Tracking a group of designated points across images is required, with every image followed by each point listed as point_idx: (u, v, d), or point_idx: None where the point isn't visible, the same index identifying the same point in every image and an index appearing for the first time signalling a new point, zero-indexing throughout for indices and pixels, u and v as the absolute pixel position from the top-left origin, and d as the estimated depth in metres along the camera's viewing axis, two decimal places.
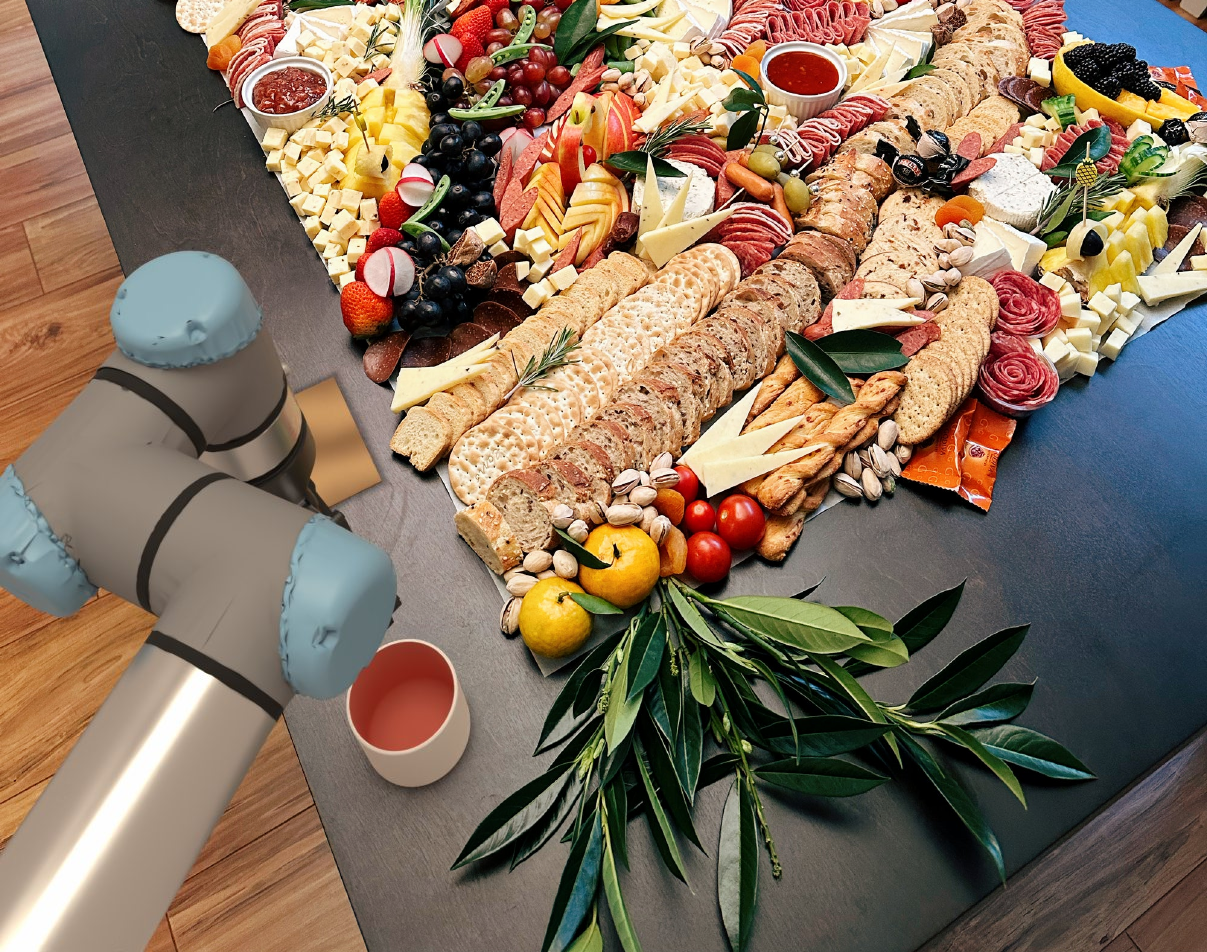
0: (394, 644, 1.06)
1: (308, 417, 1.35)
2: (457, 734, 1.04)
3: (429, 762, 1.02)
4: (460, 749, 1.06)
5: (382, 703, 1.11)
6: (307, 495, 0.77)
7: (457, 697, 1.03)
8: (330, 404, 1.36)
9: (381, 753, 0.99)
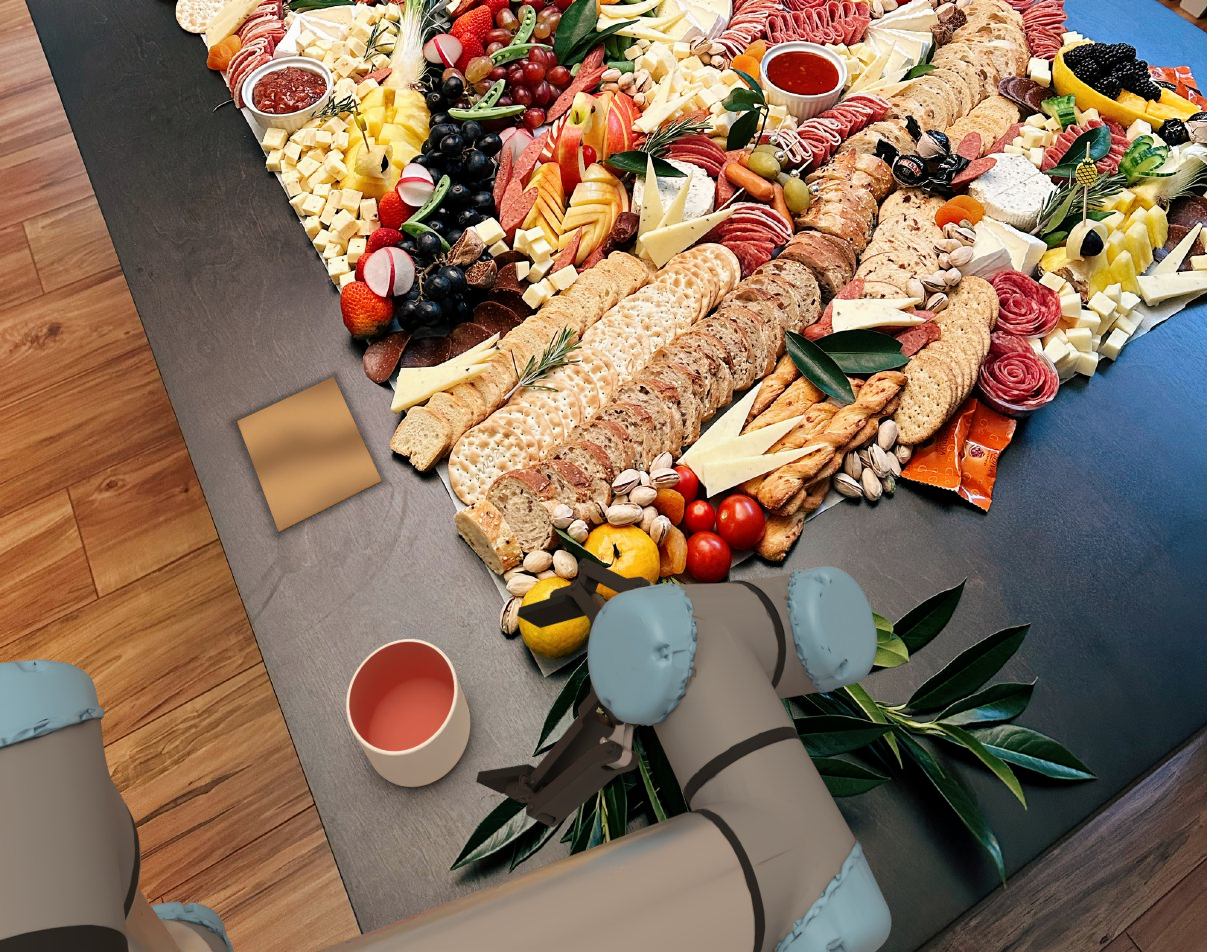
0: (394, 644, 1.06)
1: (308, 417, 1.35)
2: (457, 734, 1.04)
3: (429, 762, 1.02)
4: (460, 749, 1.06)
5: (382, 703, 1.11)
6: None
7: (457, 697, 1.03)
8: (330, 404, 1.36)
9: (381, 753, 0.99)
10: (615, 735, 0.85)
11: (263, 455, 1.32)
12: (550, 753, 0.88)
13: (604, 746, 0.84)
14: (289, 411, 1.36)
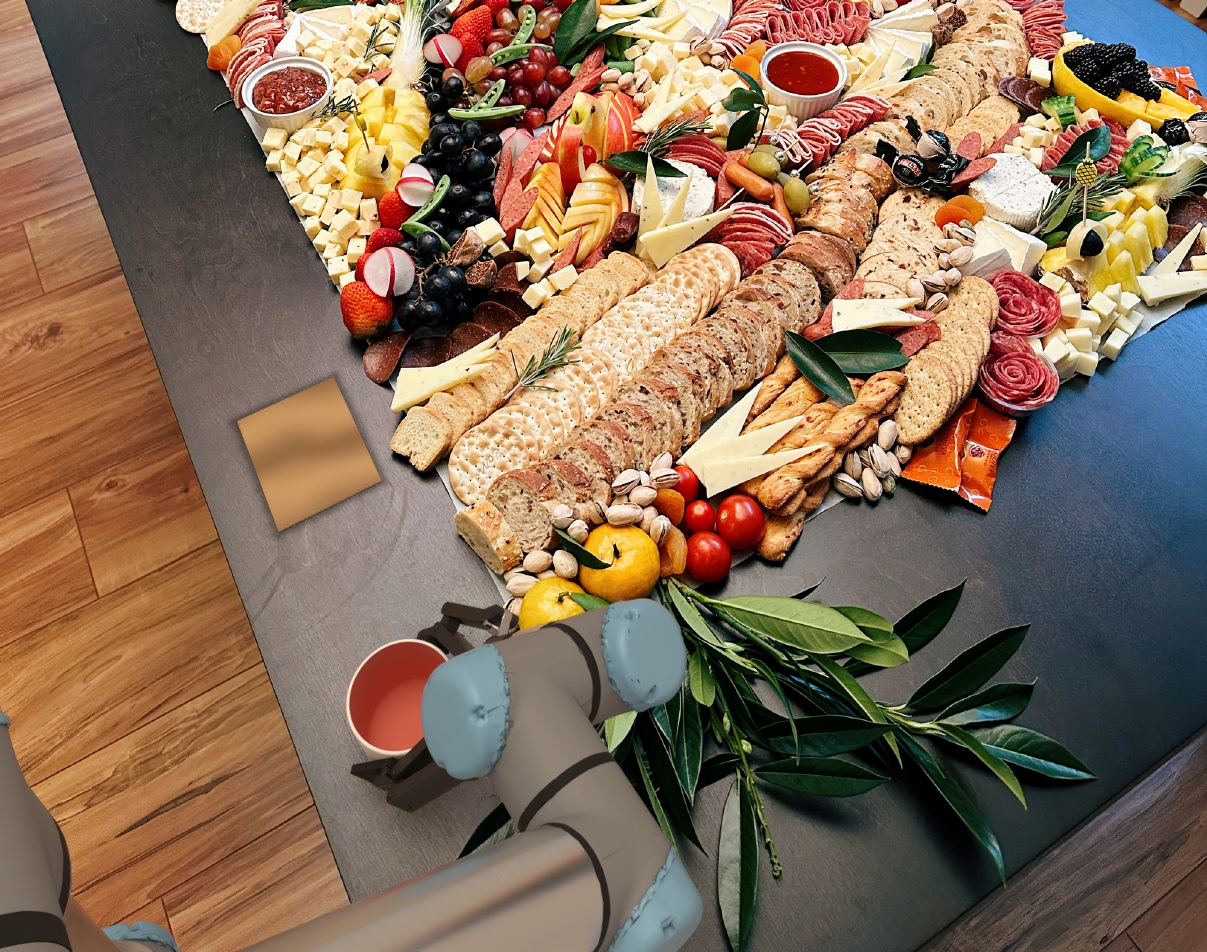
0: (394, 644, 1.06)
1: (308, 417, 1.35)
2: None
3: None
4: None
5: (382, 703, 1.11)
6: None
7: None
8: (330, 404, 1.36)
9: (381, 753, 0.99)
10: None
11: (263, 455, 1.32)
12: (411, 751, 0.98)
13: None
14: (289, 411, 1.36)
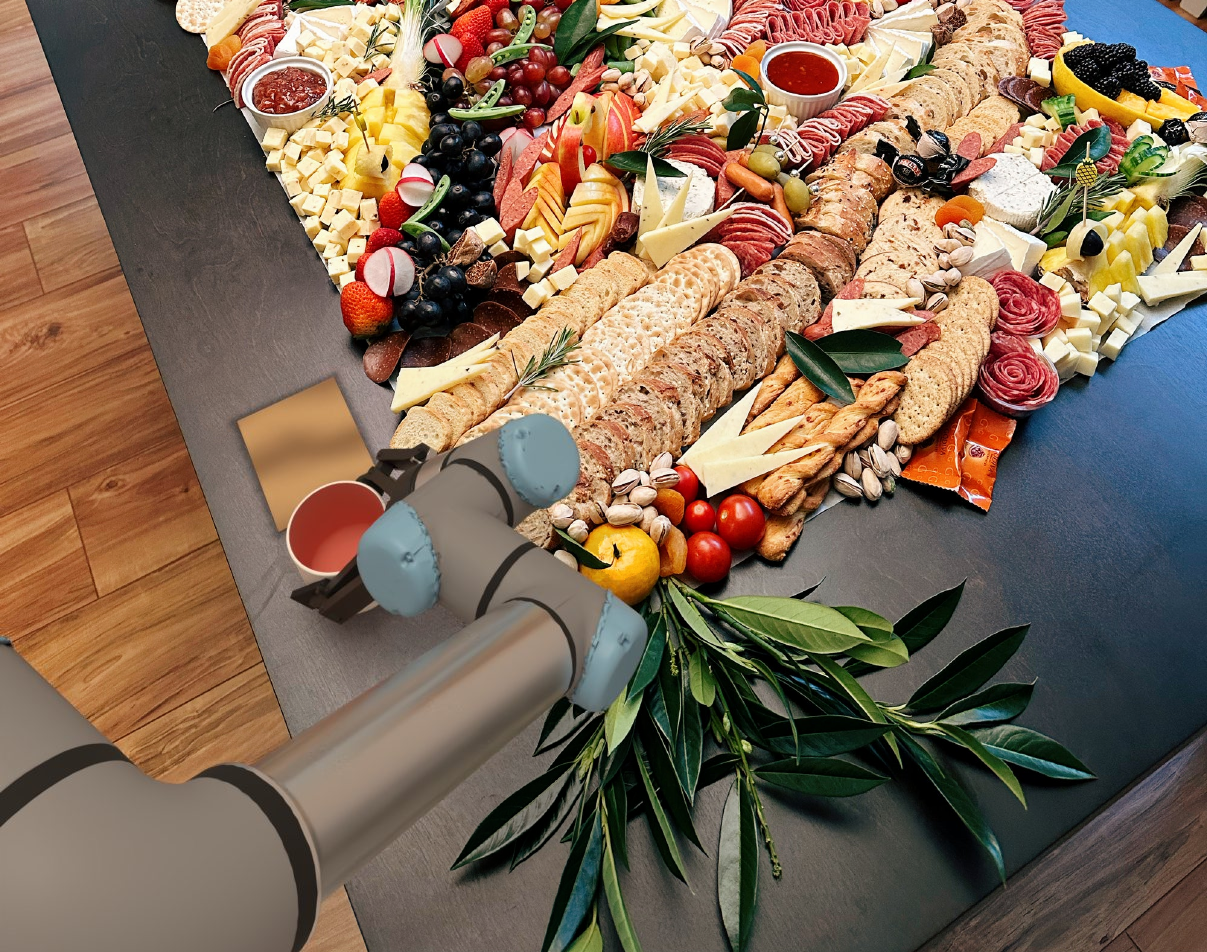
0: (332, 485, 1.16)
1: (308, 417, 1.35)
2: None
3: None
4: None
5: (324, 546, 1.21)
6: None
7: None
8: (330, 404, 1.36)
9: (316, 574, 1.10)
10: None
11: (263, 455, 1.32)
12: (342, 570, 1.08)
13: None
14: (289, 411, 1.36)
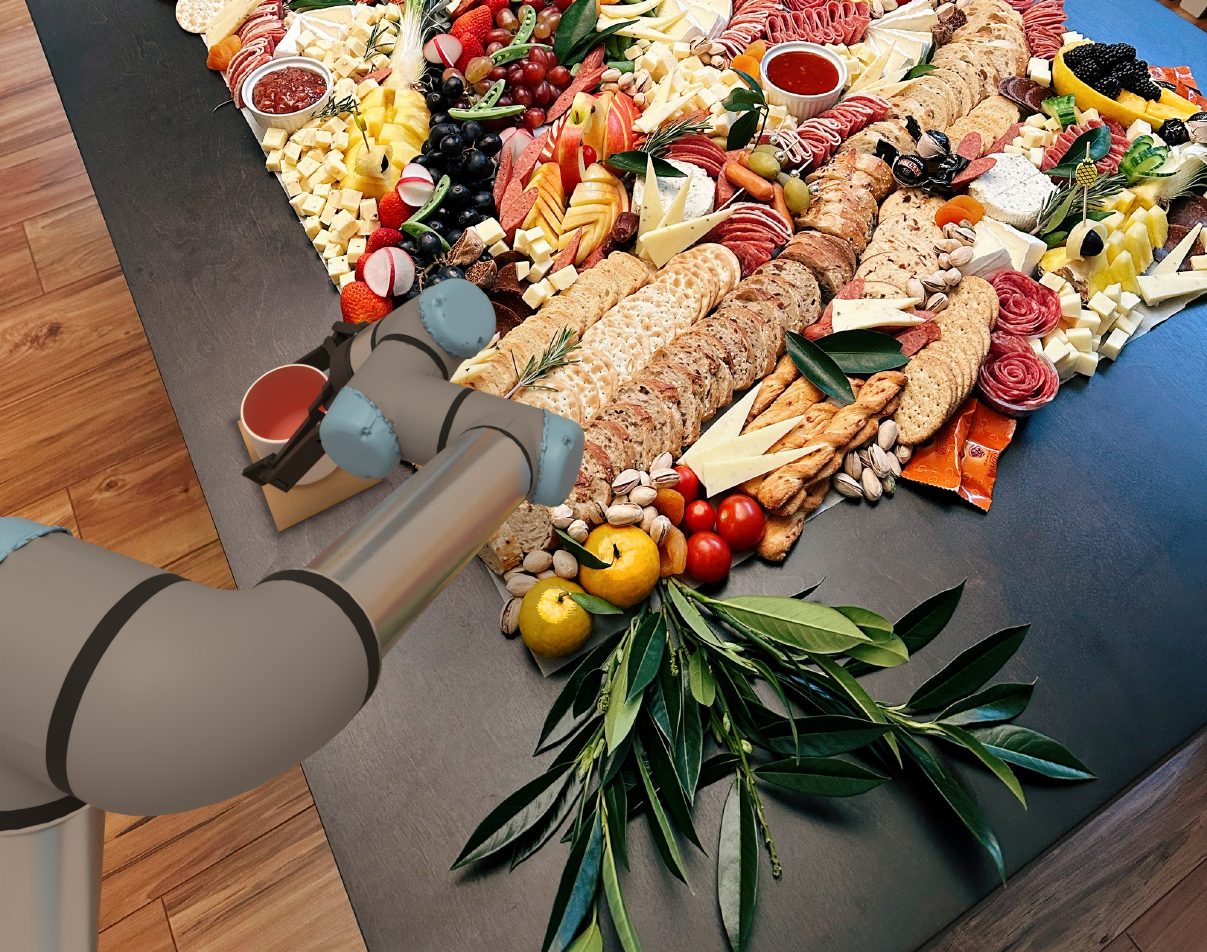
0: (283, 368, 1.28)
1: None
2: None
3: None
4: None
5: (277, 428, 1.33)
6: None
7: None
8: None
9: (266, 441, 1.22)
10: None
11: None
12: (288, 442, 1.19)
13: (318, 426, 1.15)
14: None
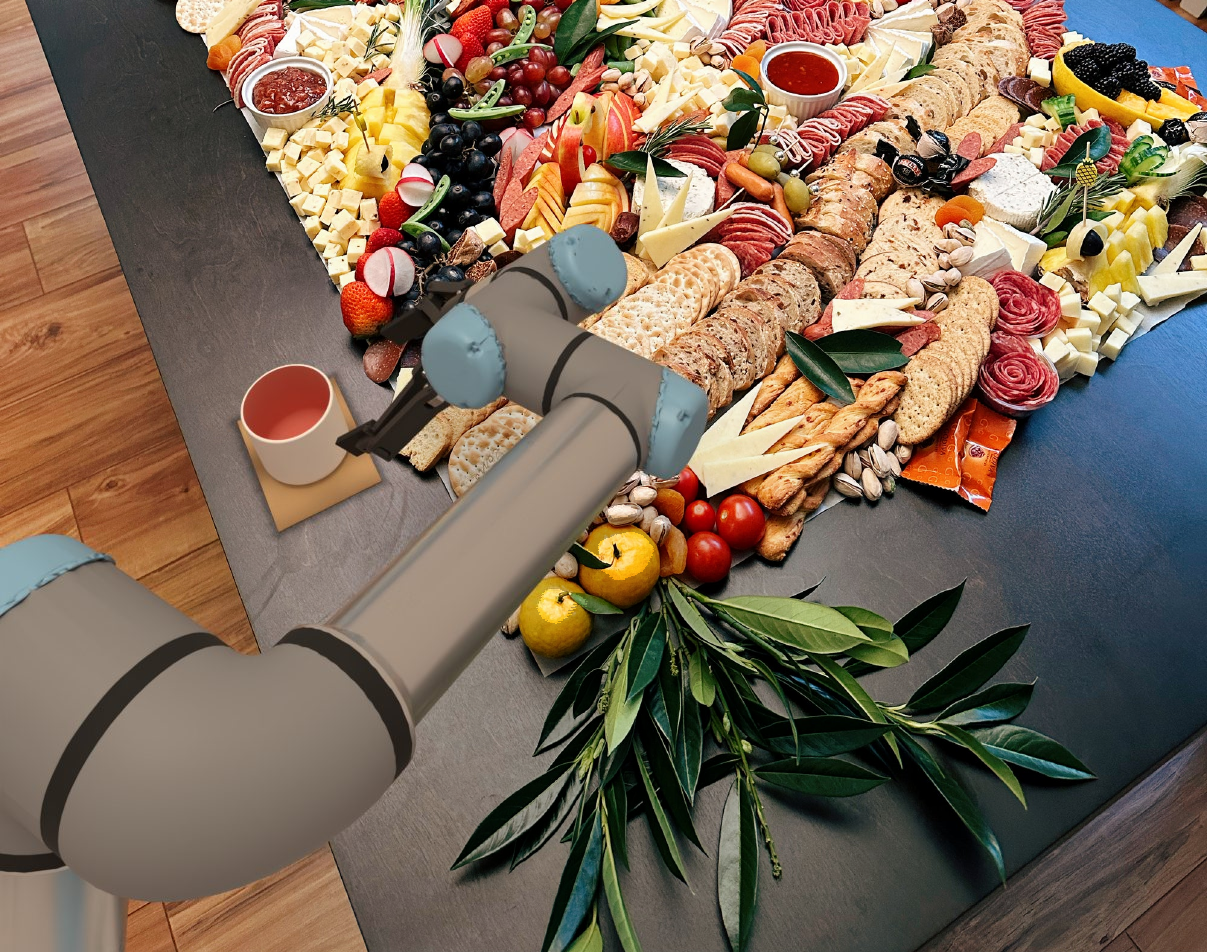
0: (283, 368, 1.28)
1: None
2: (334, 438, 1.26)
3: (308, 457, 1.25)
4: (338, 455, 1.28)
5: (277, 428, 1.33)
6: None
7: (332, 403, 1.25)
8: None
9: (266, 441, 1.22)
10: None
11: None
12: (389, 407, 1.10)
13: (426, 388, 1.06)
14: None
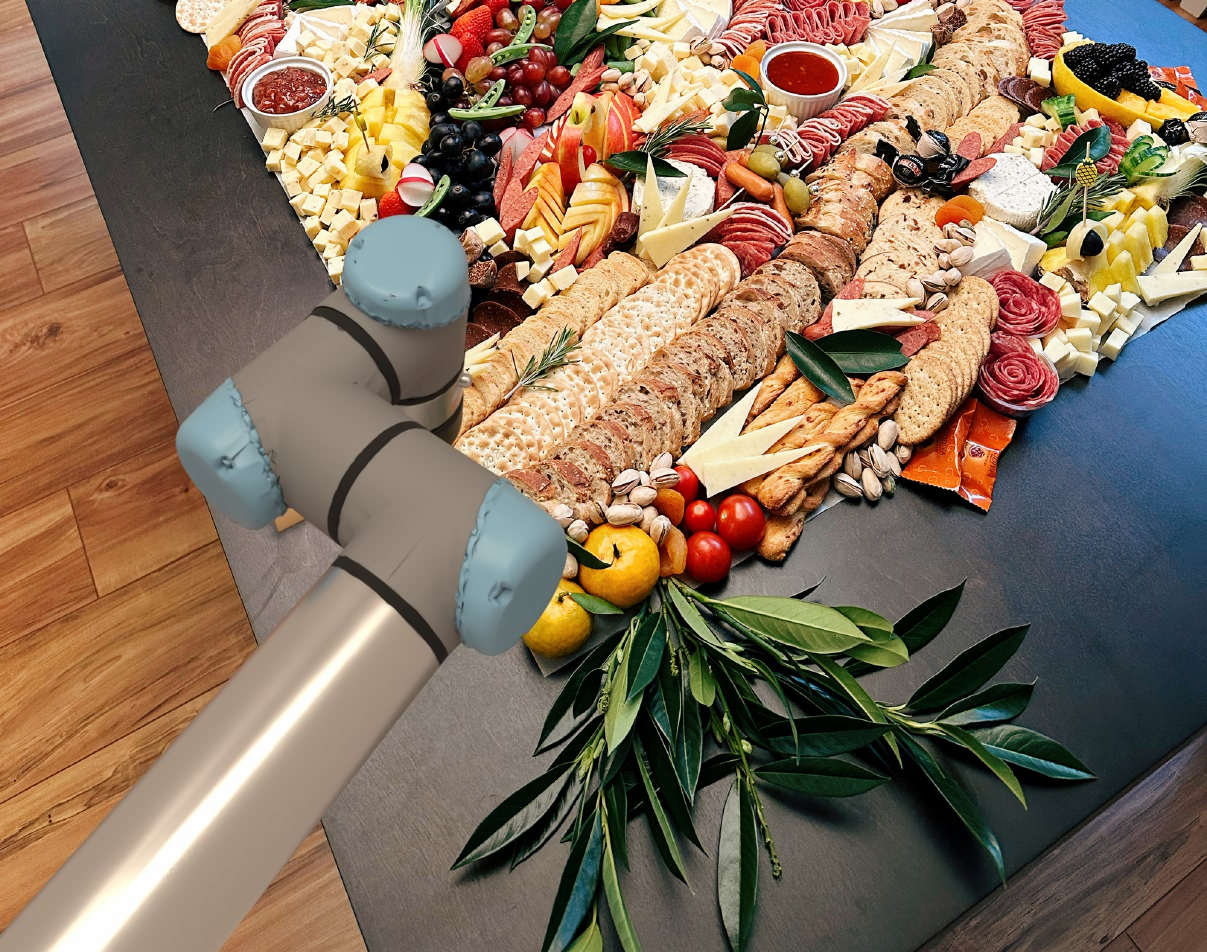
0: None
1: None
2: None
3: None
4: None
5: None
6: None
7: None
8: None
9: None
10: None
11: None
12: None
13: None
14: None
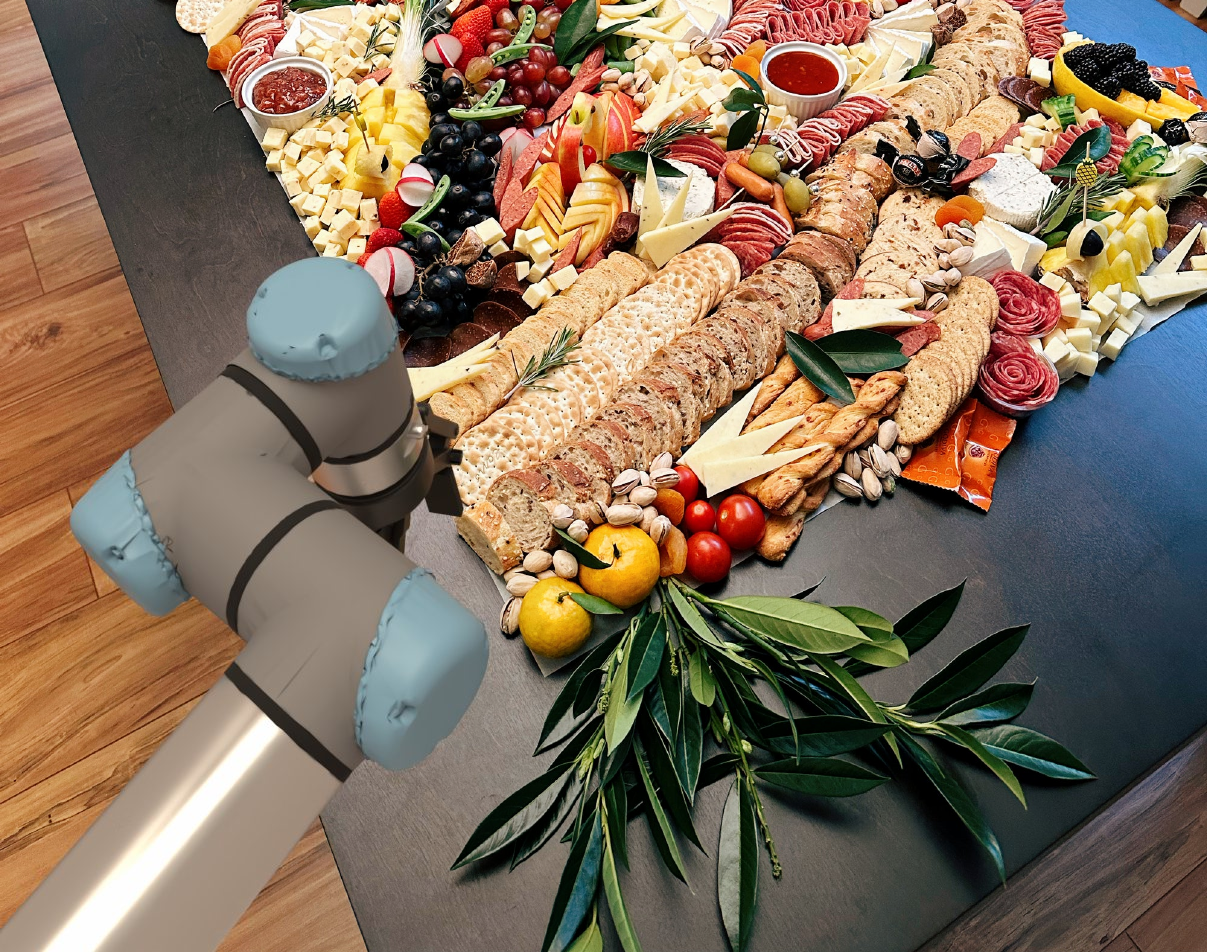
0: None
1: None
2: None
3: None
4: None
5: None
6: None
7: None
8: None
9: None
10: None
11: None
12: None
13: None
14: None
